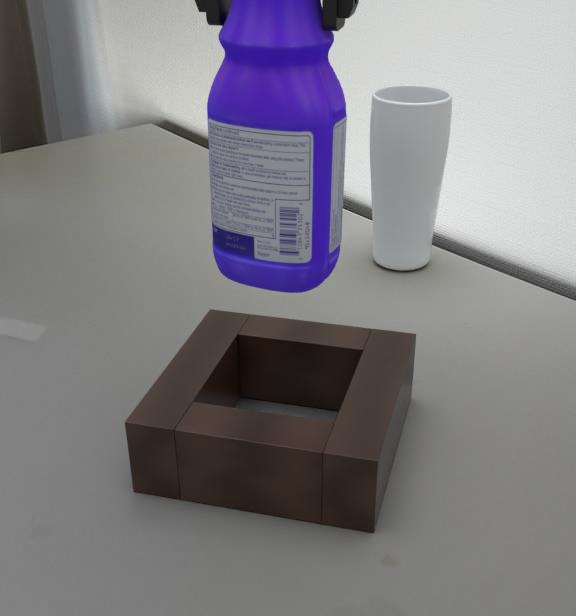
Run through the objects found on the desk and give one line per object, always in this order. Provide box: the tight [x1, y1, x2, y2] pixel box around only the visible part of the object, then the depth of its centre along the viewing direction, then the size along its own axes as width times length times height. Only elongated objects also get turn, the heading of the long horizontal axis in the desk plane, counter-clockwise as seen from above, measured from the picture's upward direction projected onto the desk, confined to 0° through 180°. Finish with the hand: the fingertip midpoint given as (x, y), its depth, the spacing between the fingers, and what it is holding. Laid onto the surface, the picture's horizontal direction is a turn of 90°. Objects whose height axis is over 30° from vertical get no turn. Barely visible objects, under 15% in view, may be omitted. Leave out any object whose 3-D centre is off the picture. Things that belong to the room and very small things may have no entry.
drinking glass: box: [368, 84, 453, 272], centre depth 76 cm, size 7×7×15 cm
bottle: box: [206, 0, 348, 294], centre depth 45 cm, size 7×6×17 cm
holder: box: [124, 309, 417, 533], centre depth 55 cm, size 14×14×5 cm
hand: (276, 24), depth 43 cm, fingers closed on bottle, 5 cm apart
